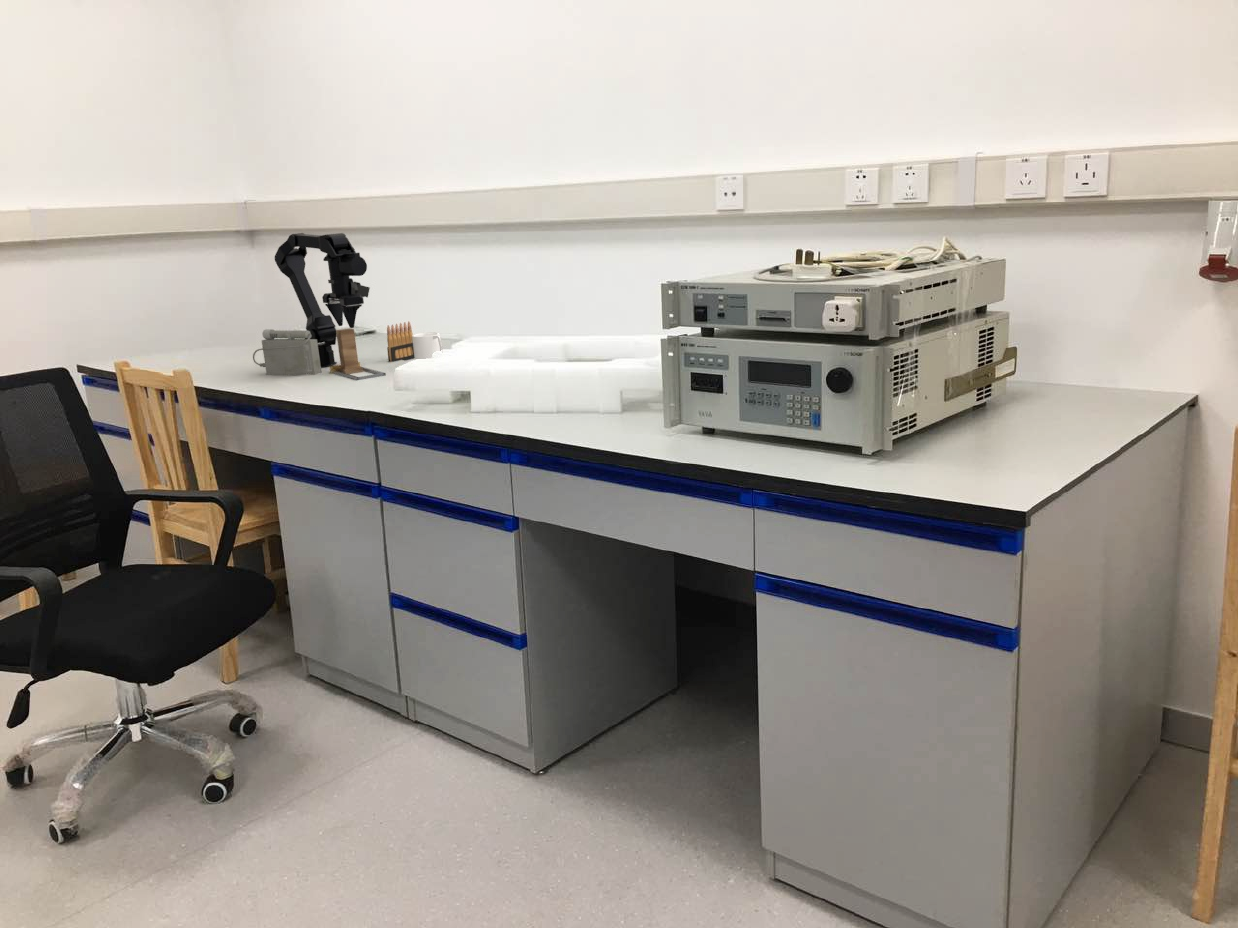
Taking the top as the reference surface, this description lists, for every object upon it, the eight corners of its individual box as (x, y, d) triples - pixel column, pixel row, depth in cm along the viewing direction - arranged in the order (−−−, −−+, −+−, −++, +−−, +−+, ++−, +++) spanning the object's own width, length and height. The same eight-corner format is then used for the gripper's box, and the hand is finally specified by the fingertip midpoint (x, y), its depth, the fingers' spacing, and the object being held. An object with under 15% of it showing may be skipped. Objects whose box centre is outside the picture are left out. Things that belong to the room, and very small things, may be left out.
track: (330, 373, 306) (329, 366, 306) (358, 369, 312) (357, 361, 311) (357, 381, 290) (355, 373, 289) (386, 377, 295) (385, 368, 294)
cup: (432, 371, 299) (428, 338, 296) (410, 368, 308) (406, 335, 305) (455, 367, 304) (451, 334, 302) (433, 364, 313) (429, 331, 310)
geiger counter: (318, 328, 304) (256, 328, 315) (304, 331, 299) (241, 331, 309) (325, 373, 308) (263, 372, 318) (310, 377, 302) (248, 375, 313)
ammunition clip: (392, 363, 319) (387, 325, 316) (388, 363, 320) (383, 325, 317) (417, 357, 327) (412, 321, 324) (413, 357, 328) (408, 320, 325)
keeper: (338, 372, 306) (332, 330, 302) (355, 369, 309) (350, 327, 305) (345, 374, 301) (339, 331, 297) (363, 371, 304) (357, 329, 301)
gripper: (376, 274, 304) (383, 325, 308) (352, 272, 318) (359, 321, 322) (341, 277, 297) (348, 330, 302) (318, 275, 312) (325, 326, 316)
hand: (346, 326), depth 311 cm, fingers open, 9 cm apart
